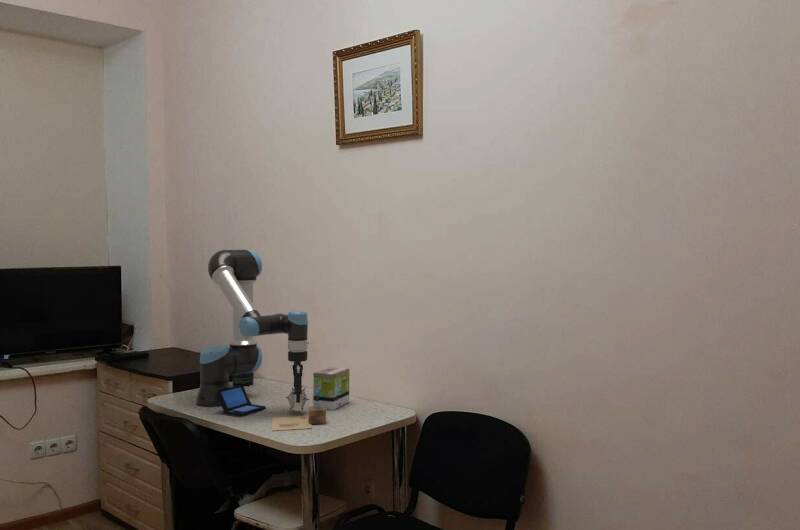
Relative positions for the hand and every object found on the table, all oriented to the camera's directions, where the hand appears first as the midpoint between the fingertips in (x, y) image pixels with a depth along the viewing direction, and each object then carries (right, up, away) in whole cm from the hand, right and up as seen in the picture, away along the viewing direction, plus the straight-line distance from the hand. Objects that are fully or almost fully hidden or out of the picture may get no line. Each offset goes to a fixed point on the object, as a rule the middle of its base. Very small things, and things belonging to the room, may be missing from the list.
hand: (297, 407), depth 258 cm
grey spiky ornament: (0, -1, 0) cm, 1 cm away
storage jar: (-35, -2, +57) cm, 67 cm away
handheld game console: (-23, -3, +4) cm, 24 cm away
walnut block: (+9, -2, -14) cm, 17 cm away
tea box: (+12, -2, +13) cm, 18 cm away
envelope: (0, -3, -16) cm, 16 cm away
